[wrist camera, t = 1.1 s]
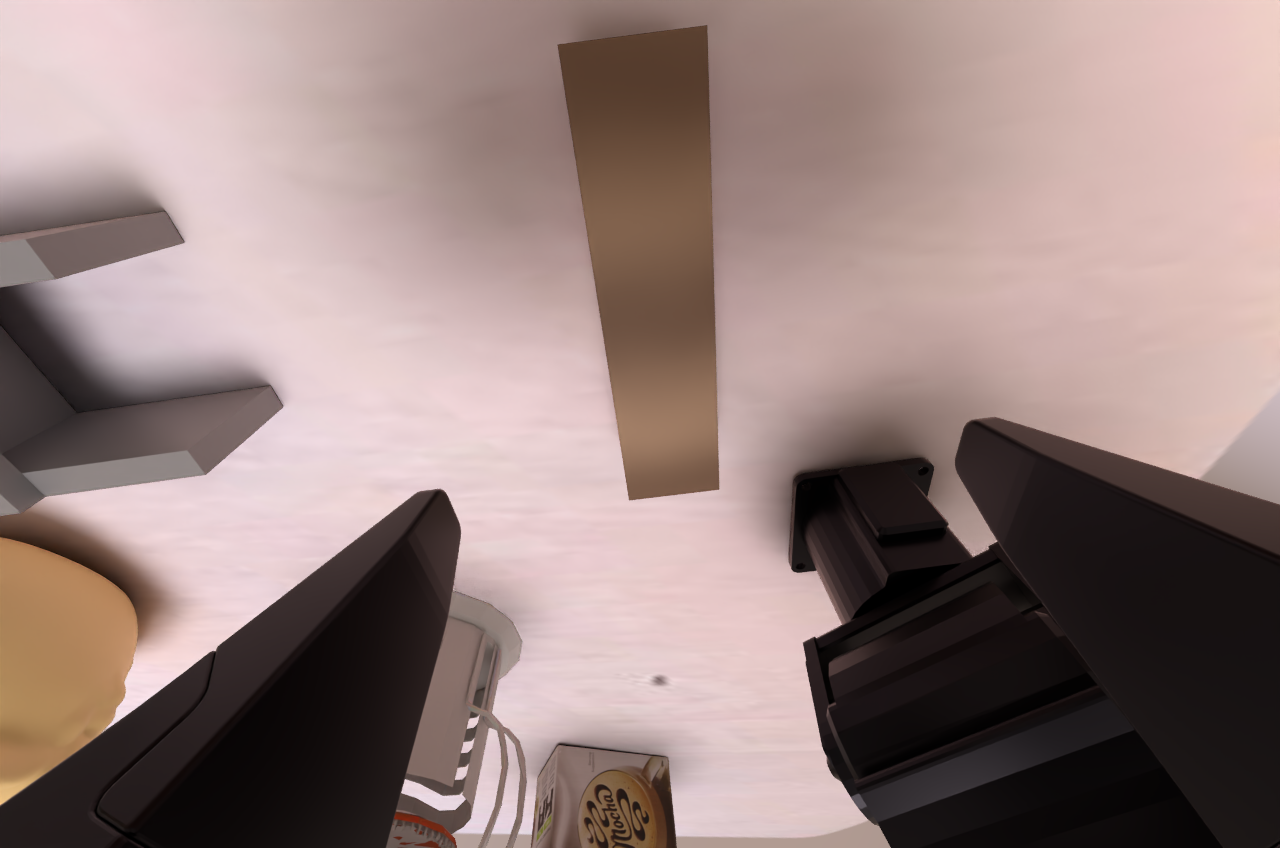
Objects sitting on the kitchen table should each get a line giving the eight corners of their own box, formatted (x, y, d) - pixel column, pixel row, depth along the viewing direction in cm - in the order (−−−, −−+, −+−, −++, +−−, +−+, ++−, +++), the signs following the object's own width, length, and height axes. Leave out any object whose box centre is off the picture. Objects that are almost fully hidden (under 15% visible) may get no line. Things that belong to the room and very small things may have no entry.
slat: (702, 433, 22) (719, 489, 19) (625, 442, 22) (629, 500, 19) (684, 47, 15) (707, 25, 11) (569, 63, 15) (557, 44, 11)
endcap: (283, 407, 20) (188, 490, 15) (71, 436, 20) (-85, 527, 16) (165, 211, 16) (-11, 245, 11) (-99, 250, 16) (-372, 299, 12)
